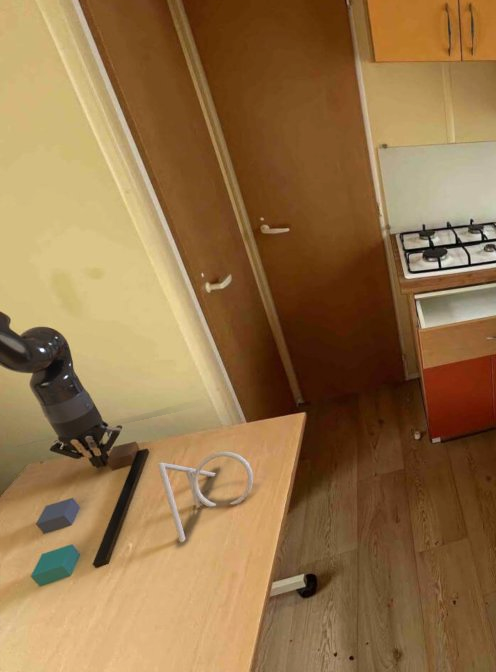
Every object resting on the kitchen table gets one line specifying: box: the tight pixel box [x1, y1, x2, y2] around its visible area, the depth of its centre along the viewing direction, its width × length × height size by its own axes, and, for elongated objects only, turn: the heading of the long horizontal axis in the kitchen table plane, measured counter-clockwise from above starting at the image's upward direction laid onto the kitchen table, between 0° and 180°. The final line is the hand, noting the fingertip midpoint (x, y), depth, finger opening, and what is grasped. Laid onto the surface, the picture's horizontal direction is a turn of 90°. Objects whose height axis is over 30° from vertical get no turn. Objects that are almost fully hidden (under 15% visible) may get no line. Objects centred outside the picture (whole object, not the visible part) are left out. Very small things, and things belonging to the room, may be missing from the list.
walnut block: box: [107, 440, 141, 472], centre depth 104 cm, size 4×4×4 cm
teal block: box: [30, 543, 81, 587], centre depth 81 cm, size 4×4×4 cm
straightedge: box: [92, 448, 150, 569], centre depth 94 cm, size 2×30×2 cm, turn 25°
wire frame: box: [157, 451, 254, 543], centre depth 95 cm, size 18×13×16 cm
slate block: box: [35, 497, 81, 535], centre depth 90 cm, size 4×4×4 cm
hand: (102, 464), depth 102 cm, fingers closed
